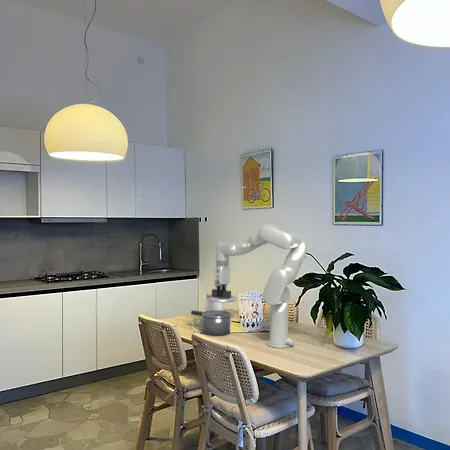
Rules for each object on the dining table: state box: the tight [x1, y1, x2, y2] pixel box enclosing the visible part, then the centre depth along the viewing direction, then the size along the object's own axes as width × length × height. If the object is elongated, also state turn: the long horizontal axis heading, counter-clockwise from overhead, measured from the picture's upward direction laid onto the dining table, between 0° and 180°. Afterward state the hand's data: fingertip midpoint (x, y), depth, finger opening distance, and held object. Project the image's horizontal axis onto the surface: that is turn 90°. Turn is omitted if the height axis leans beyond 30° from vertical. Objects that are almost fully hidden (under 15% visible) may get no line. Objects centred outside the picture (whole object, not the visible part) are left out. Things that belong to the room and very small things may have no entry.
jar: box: [204, 298, 223, 312], centre depth 282 cm, size 11×10×15 cm
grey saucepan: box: [190, 309, 232, 337], centre depth 259 cm, size 25×17×11 cm, turn 58°
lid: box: [205, 288, 237, 303], centre depth 253 cm, size 17×17×5 cm
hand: (221, 295), depth 253 cm, fingers closed on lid, 3 cm apart
